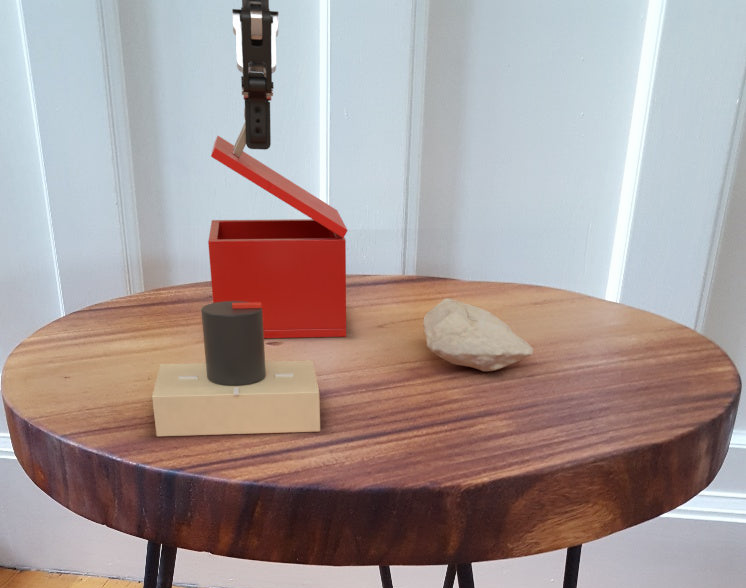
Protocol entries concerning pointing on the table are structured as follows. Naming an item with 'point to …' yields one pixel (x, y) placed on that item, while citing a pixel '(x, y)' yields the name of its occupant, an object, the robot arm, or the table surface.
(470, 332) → the stone
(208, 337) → the valve knob
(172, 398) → the panel
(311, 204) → the box lid
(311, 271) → the red open box
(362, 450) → the table surface
